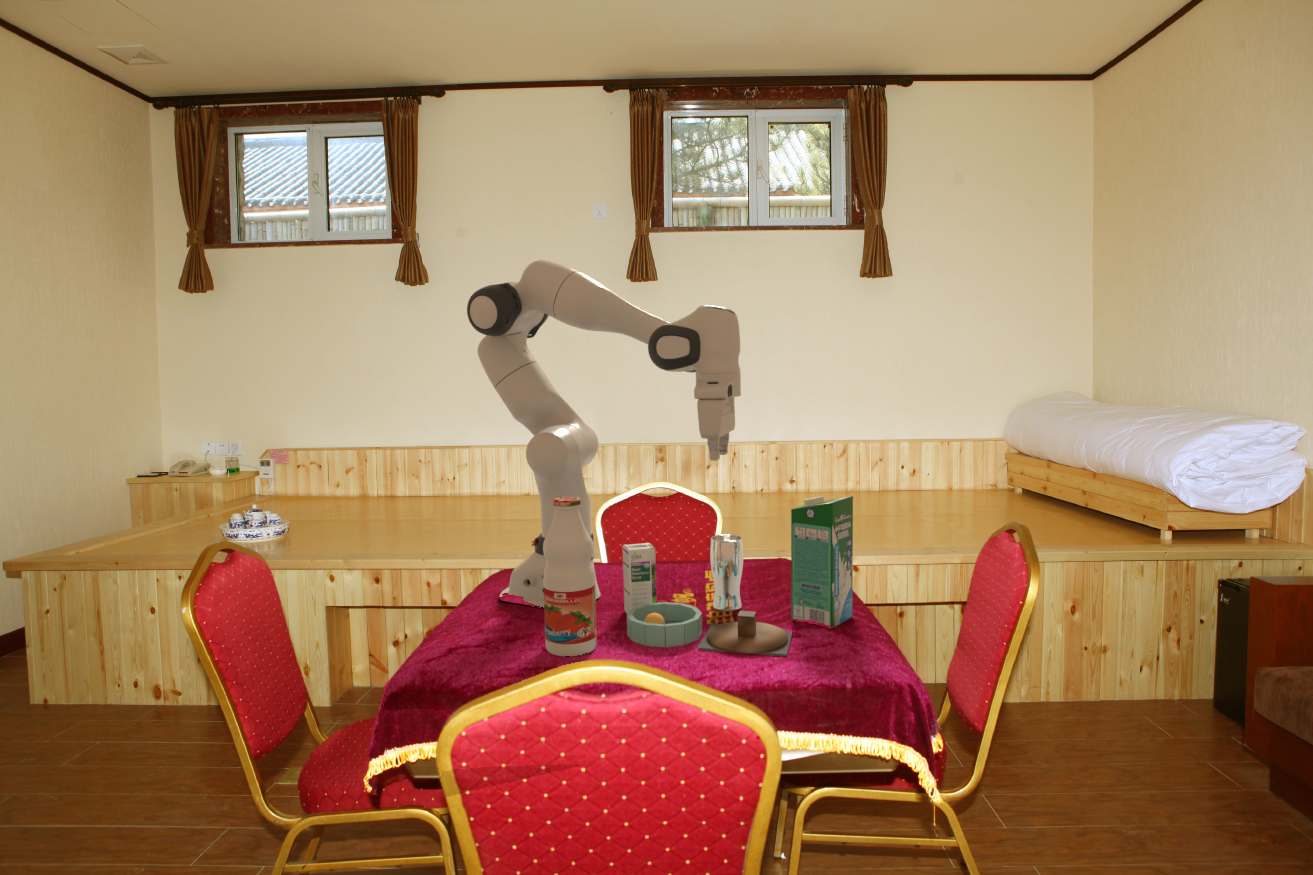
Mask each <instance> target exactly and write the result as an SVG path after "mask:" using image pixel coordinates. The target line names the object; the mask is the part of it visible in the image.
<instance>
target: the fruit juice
mask: <svg viewBox="0 0 1313 875" xmlns="http://www.w3.org/2000/svg"><path fill="white" fill-rule="evenodd" d="M580 504H581V502H580V498H579V497H571V496H567V497H558V498H555V499H554V500H553V505H554V508H555V514H554V518H553V521H552V525H551V528H550V530H549V533H548V535H547V536H546V538H545V540H544V543H543V552H544V556H545V559H546V567H545V569H544V576H543V587H544V608H543V610H544V612H543V613H544V638H545V640H544V641H545V649H546V651H547V652H548V653H550V654H551V655H554V656H557V657H565V656H570V657H579V656H583V654H584V655H586V654H585V653H587V654H589V653H591V652H593V651H594V650H595V649H596V646H597V636H598V635H597V608H596V607H597V603H596V601H597V599H596V600H595V576H596V572H595V573H594V570H595V567H594V568H593V566H592V563H591V557H592V553H593V541H592V538H591V536H590V535H589V533H588V532H587V530H586V528H585V526H584V523H583V521H582V518H581V515H580V512H579V508H580ZM578 655H579V656H578Z"/></svg>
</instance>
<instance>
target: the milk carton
mask: <svg viewBox="0 0 1313 875" xmlns="http://www.w3.org/2000/svg"><path fill="white" fill-rule="evenodd" d="M803 502H804V505H801V506H798V507H794V508H792V509H791V510H790V512H791V513H790V514H791V515H790V516H791V518H790V524H791V525H790V529H791V530H790V534H791V536H790V538H791V539H790V540H791V542H790V543H791V544H790V545H791V546H790V549H791V551H790V552H791V554H790V556H791V563H790V564H791V565H790V566H791V569H790V570H791V571H790V573H791V574H790V575H791V577H790V579H791V582H790V584H791V586H790V587H791V590H790V592H791V593H790V595H791V596H790V597H791V598H790V599H791V605H790V606H791V615H790V616H791V619H798V620H811V621H816V622H819V623H823V624H825V625H829V626H830V627H834V626H836V627H837V625H838V626H839V625H841V624H843V623H844V622H846V621H847V620H850V619H851V618H853V578H854V577H853V566H854V565H853V564H854V560H853V553H854V552H853V551H854V547H853V546H854V545H853V544H854V541H853V540H854V538H853V537H854V535H853V534H854V526H853V525H854V496H852V495H851V496H850V495H849V496H845V497H837V498H831V499H827V500H826V499H825V498H824V495H820V496H813V497H808V498H805V499H803ZM834 628H835V627H834Z"/></svg>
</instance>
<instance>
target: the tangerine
mask: <svg viewBox="0 0 1313 875" xmlns="http://www.w3.org/2000/svg"><path fill="white" fill-rule="evenodd" d="M644 622H646V623H653V624H665V621H664V618H663V617H662V616H661V615H660V614H658V613H651V614H649V615H647V617H646V618H645V620H644Z"/></svg>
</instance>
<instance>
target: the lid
mask: <svg viewBox="0 0 1313 875" xmlns="http://www.w3.org/2000/svg"><path fill="white" fill-rule="evenodd" d="M716 625H717V626H714V627H712V628H711V629H710V630H709V631H708V630H707V631H708V632H707V631H706V633H707V641H708V642H709V643H710V644H711V645H712V646H714V647H716V648H719V649H722V650H725V651H729V652H728V653H733V652H735V653H736V654H747V653H763V652H769V651H773V650H777V649H779V648H781V647H783V646H784V645H785V644H786V643H787V641H788V635H787V633H786V632H785V631H784V630H783V629H784V628H781V627H779V626H776V625H774V624H770V623H767V622H759V621H757V611H749V610H739V612H738V614H737V621H730V622H724V623H720V624H716Z"/></svg>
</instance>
